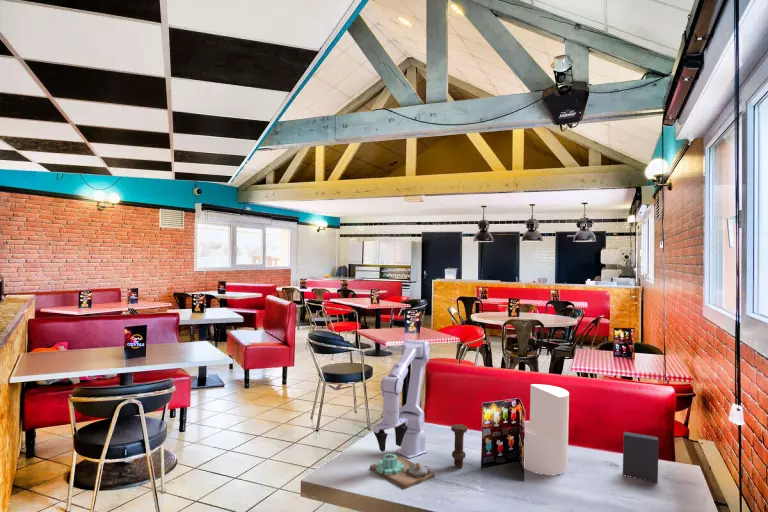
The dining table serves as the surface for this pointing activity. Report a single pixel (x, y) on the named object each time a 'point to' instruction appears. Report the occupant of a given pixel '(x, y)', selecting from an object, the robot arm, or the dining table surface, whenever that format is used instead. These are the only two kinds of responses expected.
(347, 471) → the dining table surface
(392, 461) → the teal gear
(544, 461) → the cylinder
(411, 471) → the gear board
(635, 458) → the calculator
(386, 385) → the robot arm
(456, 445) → the bolt
